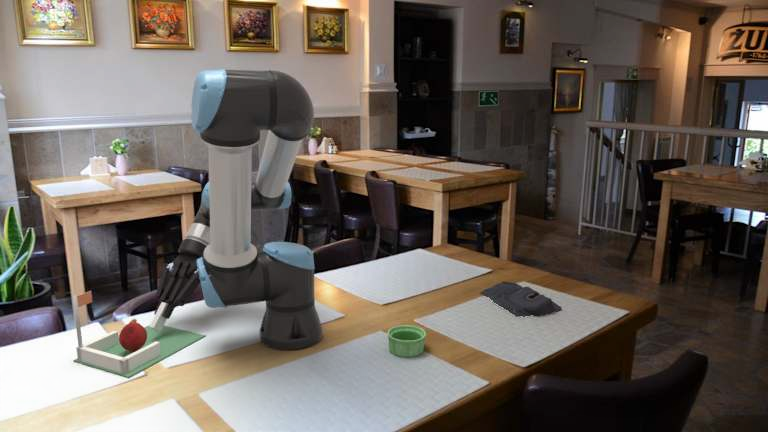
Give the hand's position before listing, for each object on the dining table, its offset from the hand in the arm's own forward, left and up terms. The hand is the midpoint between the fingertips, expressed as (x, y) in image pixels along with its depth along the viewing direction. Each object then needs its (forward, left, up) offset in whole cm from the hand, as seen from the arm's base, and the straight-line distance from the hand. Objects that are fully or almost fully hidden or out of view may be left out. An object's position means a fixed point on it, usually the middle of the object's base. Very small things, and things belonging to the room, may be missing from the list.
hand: (154, 329), depth 138 cm
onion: (-1, +8, -3) cm, 8 cm away
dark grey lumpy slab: (-73, -64, -4) cm, 98 cm away
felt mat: (-1, +5, -3) cm, 5 cm away
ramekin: (-56, -22, -3) cm, 60 cm away
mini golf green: (0, +11, -3) cm, 11 cm away
